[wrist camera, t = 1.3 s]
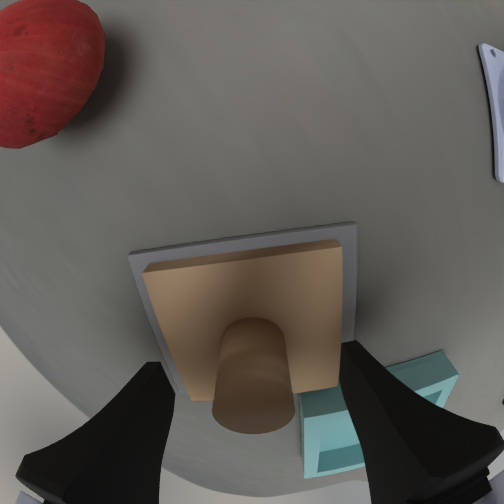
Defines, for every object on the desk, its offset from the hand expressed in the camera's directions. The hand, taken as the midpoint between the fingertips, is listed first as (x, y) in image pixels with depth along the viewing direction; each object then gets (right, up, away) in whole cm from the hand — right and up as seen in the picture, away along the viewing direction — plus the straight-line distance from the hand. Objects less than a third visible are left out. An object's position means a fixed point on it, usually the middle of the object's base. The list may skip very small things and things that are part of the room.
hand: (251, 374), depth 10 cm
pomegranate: (-8, +13, -1) cm, 15 cm away
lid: (0, +1, +3) cm, 3 cm away
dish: (+8, -7, +6) cm, 13 cm away
